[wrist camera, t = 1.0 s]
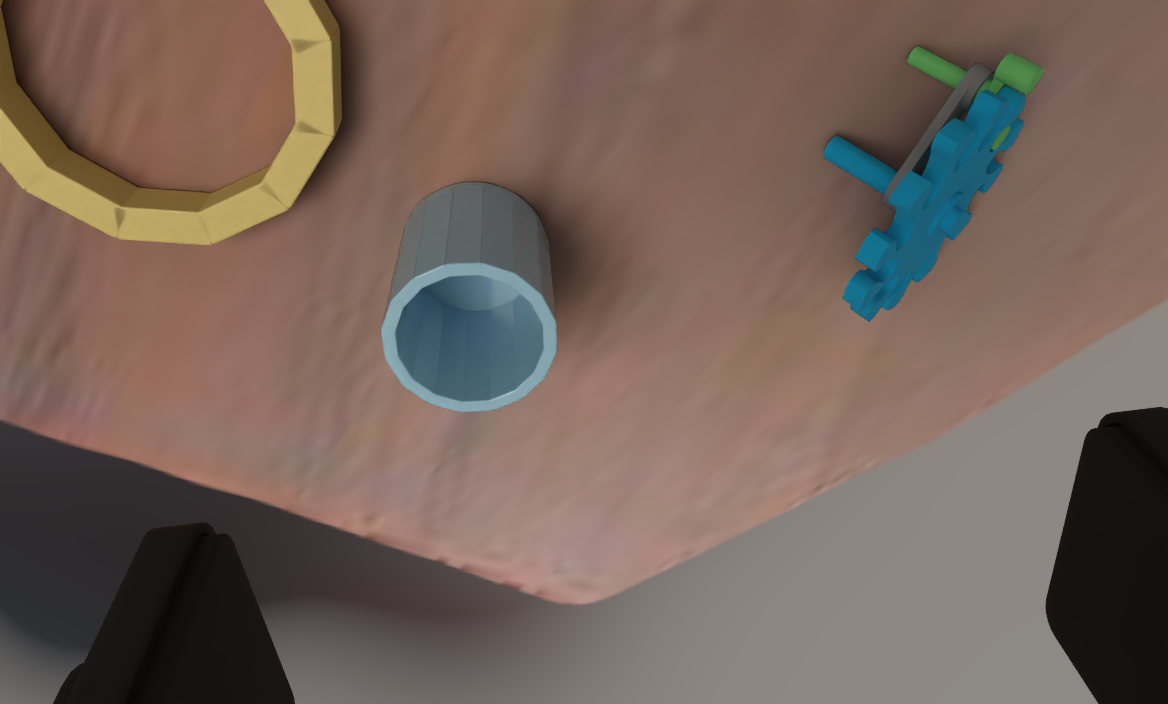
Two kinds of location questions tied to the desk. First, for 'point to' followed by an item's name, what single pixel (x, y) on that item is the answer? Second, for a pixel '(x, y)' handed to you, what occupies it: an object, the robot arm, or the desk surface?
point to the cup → (471, 300)
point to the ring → (111, 204)
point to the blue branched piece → (935, 174)
